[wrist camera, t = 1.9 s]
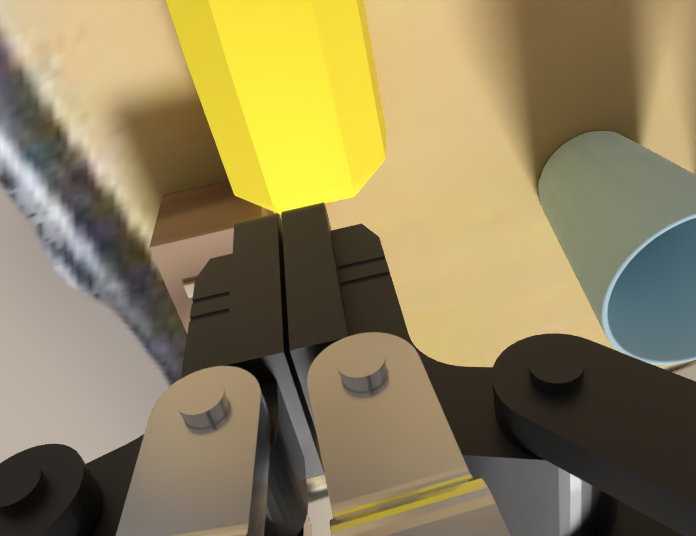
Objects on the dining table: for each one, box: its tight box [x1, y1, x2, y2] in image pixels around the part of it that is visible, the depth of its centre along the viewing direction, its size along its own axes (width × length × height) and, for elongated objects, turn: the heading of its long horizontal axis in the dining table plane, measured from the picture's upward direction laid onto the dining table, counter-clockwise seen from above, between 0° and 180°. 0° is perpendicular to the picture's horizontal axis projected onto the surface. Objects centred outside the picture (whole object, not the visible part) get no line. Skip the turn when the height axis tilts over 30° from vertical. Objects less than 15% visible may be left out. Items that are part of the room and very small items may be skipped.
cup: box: [538, 131, 696, 365], centre depth 30 cm, size 8×8×10 cm
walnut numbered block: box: [149, 181, 274, 333], centre depth 32 cm, size 5×5×5 cm
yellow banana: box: [166, 0, 386, 214], centre depth 26 cm, size 18×7×8 cm
